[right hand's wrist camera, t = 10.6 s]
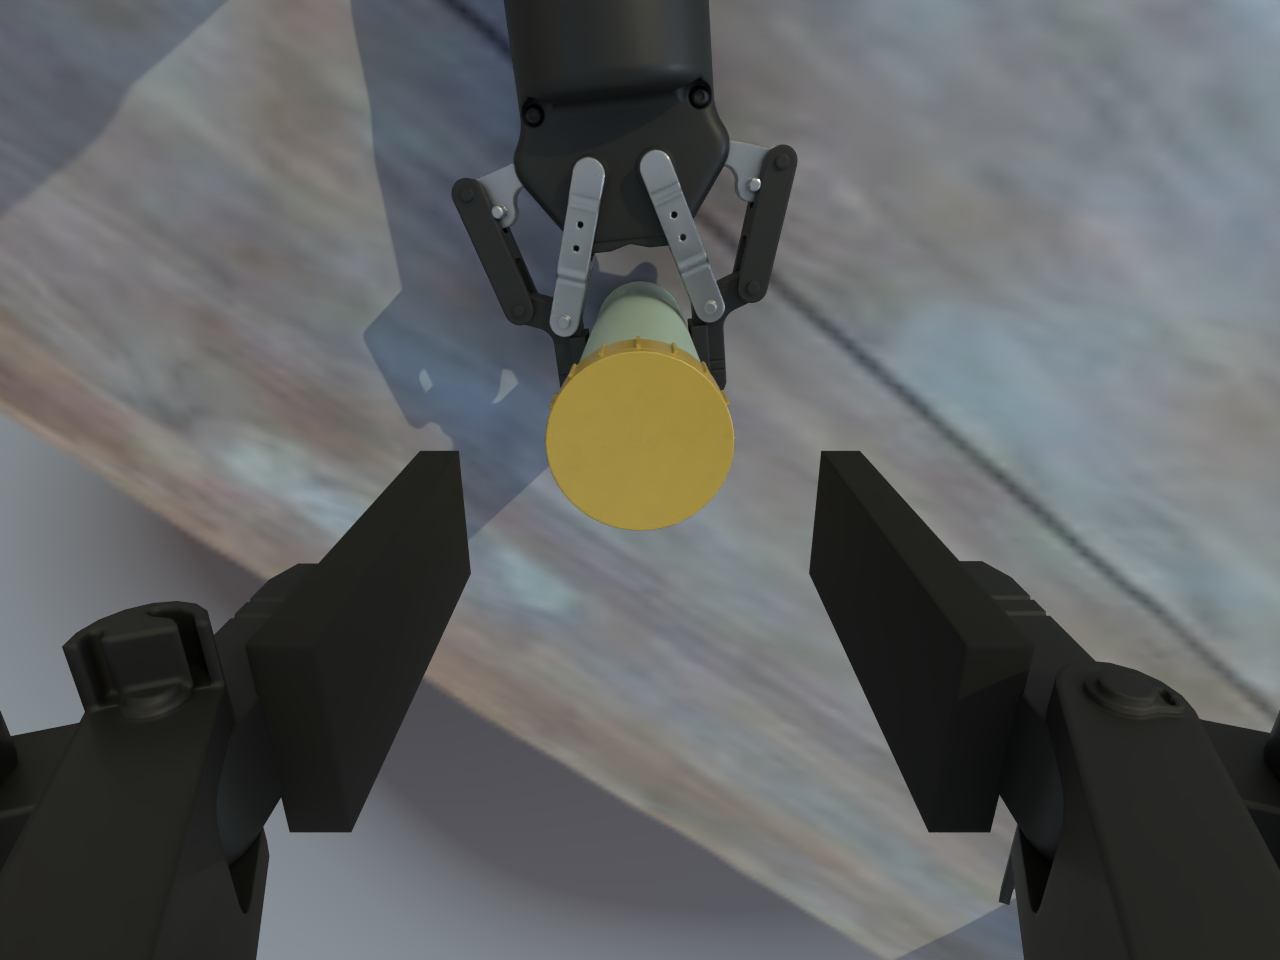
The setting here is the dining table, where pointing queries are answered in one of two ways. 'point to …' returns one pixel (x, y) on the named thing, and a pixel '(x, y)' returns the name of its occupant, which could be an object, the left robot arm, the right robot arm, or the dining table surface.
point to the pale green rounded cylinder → (640, 318)
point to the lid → (639, 435)
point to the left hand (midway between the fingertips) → (646, 407)
